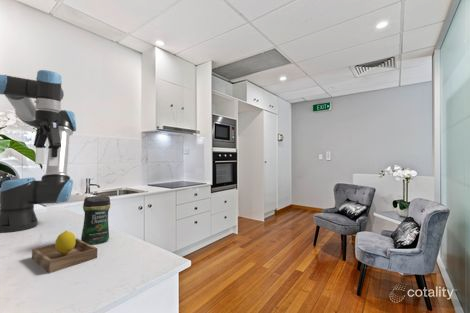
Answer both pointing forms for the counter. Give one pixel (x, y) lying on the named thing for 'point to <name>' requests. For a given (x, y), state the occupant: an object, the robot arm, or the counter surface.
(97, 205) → the coffee jar
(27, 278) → the counter surface
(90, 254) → the walnut tray
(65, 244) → the lemon
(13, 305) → the counter surface
